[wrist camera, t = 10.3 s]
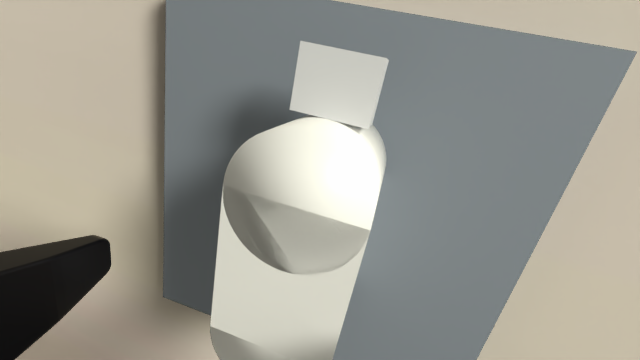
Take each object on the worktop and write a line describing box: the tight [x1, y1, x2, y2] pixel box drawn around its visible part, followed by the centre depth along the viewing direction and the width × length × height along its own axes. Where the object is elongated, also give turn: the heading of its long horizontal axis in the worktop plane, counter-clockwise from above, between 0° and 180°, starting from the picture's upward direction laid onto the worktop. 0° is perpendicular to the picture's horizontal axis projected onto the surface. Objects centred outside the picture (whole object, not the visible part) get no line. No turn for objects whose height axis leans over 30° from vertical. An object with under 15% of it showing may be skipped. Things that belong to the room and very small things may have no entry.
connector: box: [210, 41, 389, 360], centre depth 11 cm, size 11×4×5 cm, turn 168°
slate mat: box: [163, 0, 637, 360], centre depth 14 cm, size 16×16×1 cm
